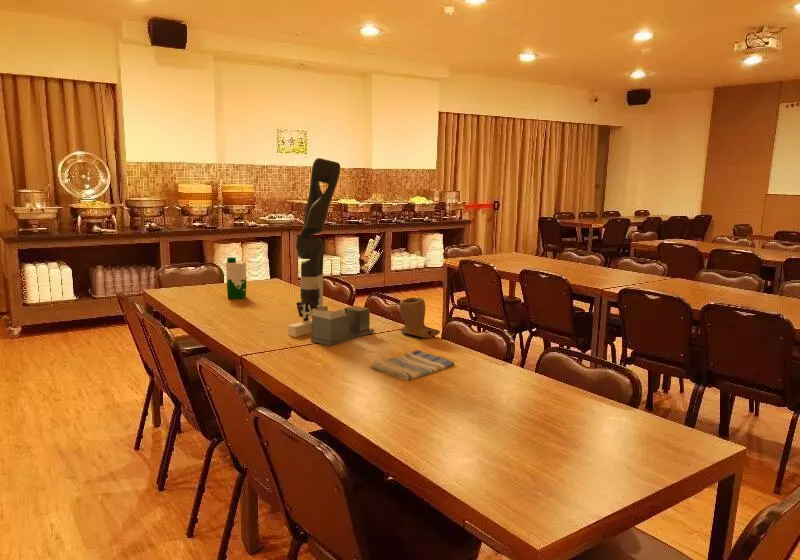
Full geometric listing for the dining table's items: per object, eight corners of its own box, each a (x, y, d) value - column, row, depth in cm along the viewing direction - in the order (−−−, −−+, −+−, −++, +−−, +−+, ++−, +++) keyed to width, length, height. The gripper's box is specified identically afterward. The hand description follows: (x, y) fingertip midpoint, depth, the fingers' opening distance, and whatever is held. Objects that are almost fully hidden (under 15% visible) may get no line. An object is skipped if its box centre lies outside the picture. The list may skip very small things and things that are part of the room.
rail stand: (310, 341, 229) (310, 309, 227) (354, 328, 249) (355, 298, 247) (330, 346, 224) (330, 313, 221) (373, 332, 243) (374, 302, 241)
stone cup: (392, 333, 242) (393, 297, 240) (414, 329, 250) (415, 293, 248) (419, 342, 231) (420, 303, 229) (440, 336, 239) (442, 299, 237)
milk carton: (230, 295, 307) (229, 256, 303) (248, 296, 307) (247, 257, 303) (225, 299, 298) (224, 259, 295) (243, 299, 298) (242, 259, 295)
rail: (288, 335, 237) (288, 325, 237) (324, 325, 253) (324, 316, 252) (295, 336, 235) (295, 326, 234) (331, 327, 251) (331, 317, 250)
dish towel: (368, 369, 200) (368, 361, 200) (418, 355, 216) (418, 348, 216) (406, 383, 188) (406, 374, 187) (455, 367, 204) (455, 359, 204)
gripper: (290, 286, 242) (291, 327, 245) (316, 290, 234) (316, 333, 237) (304, 283, 248) (304, 324, 251) (329, 287, 240) (329, 330, 243)
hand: (310, 328), depth 244 cm, fingers closed on rail, 4 cm apart
